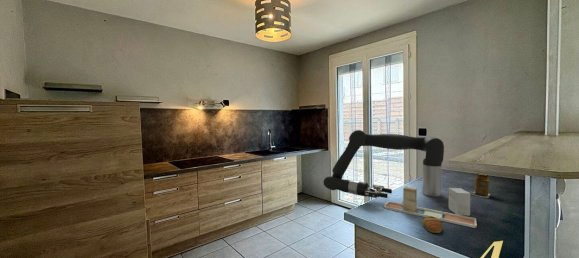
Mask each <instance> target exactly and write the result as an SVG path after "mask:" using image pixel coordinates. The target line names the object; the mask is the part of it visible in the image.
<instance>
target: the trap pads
mask: <svg viewBox="0 0 579 258" xmlns="http://www.w3.org/2000/svg"><path fill="white" fill-rule="evenodd" d="M387 207H392V208H397V209H401V210H402V207H403V206H400V205H395V204H390V203H389V204H388V205H387ZM444 219H449V220H453V221H458V222H463V223H468V224H472V225H475V224H474V220H469V219H464V218H460V217H455V216H450V215H444Z"/></svg>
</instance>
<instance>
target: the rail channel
mask: <svg viewBox="0 0 579 258" xmlns="http://www.w3.org/2000/svg"><path fill="white" fill-rule="evenodd" d="M389 203H390V204H395V205H400V206H402V207H403V203H401V202H396V201H390V200H388V201H387V202H386V203H385V204H384V205H383V209H386V210H391V211H393V212H394V211H396V212H400V213H404V214H409V215H413V216H417V217H423V218H425V217H428V216H430V215H425V214H424V213H420V212H417V211H416V212H411V211H406V210H403V209H402V208H401V209H397V208H392V207H387V205H388V204H389ZM416 210H420V211H424V212H425V211H430V212H435V213H440V214H442V215H444V216H445V215H450V216H455V217H460V218H464V219H469V220H474V224H475V225H472V224H468V223H463V222H458V221H453V220H449V219H444V218H445V217H444V218H443V217H442V218H439V217H435V216H433V217H435V218H437V219H438V220H440V222H445V223H449V224H450V223H451V224H453V225H459V226H464V227H469V228H473V229H477V228H478V224H477V218H476V217H471V216H465V215H457V214H455V213H453V212H451V213H450V212H446V211H441V210H436V209H431V208H427V207H426V208H425V207H420V206H417V208H416Z"/></svg>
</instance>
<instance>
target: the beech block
mask: <svg viewBox="0 0 579 258" xmlns="http://www.w3.org/2000/svg"><path fill="white" fill-rule="evenodd" d="M402 190H403V194H402V195H403V197H402V201H403V202H402V204H403V206H402V207H403V208H402V210H406V211H411V212H416V213H417V209H416V208H417V207H418V206H417V198H418V196H417V194H418V189H417V187H414V186H408V185H405V186H404V187H403V189H402Z"/></svg>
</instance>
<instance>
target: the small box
mask: <svg viewBox="0 0 579 258" xmlns="http://www.w3.org/2000/svg"><path fill="white" fill-rule="evenodd" d="M448 210H450V211H451V213H453V214H457V215H462V216H467V217H471V193H470V192H469V191H467V190H465V189H463V188H460V187H458V188H457V187H448Z"/></svg>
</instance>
